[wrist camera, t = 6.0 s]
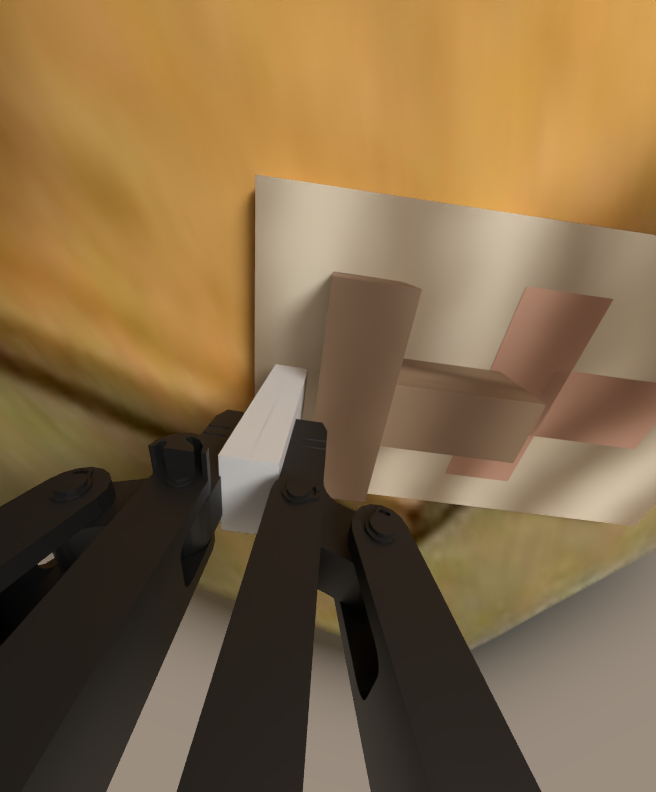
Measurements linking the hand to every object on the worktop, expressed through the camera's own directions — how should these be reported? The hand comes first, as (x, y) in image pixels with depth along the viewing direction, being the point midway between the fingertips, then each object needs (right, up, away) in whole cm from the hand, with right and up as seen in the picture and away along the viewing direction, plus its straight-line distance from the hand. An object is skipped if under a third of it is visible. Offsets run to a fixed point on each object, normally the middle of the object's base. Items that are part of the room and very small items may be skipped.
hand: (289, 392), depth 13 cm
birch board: (+11, 0, +2) cm, 11 cm away
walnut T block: (+6, 0, +1) cm, 6 cm away
